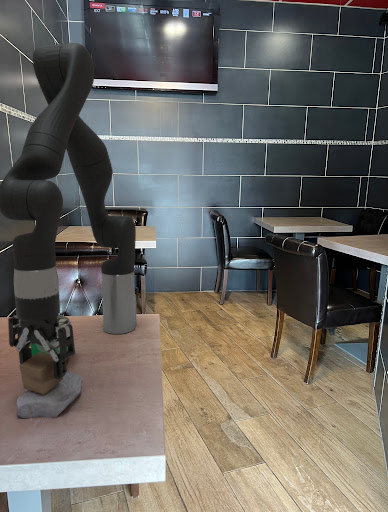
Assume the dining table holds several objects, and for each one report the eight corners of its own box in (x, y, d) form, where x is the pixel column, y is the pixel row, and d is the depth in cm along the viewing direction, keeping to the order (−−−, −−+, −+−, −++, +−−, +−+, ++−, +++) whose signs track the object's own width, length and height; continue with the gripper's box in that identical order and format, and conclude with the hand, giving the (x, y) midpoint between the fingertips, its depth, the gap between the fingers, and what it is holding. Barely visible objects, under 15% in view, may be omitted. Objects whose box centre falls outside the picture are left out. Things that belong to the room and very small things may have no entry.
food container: (55, 378, 79) (52, 335, 77) (30, 375, 80) (27, 333, 79) (83, 354, 91) (81, 316, 89) (61, 351, 92) (58, 314, 91)
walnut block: (43, 373, 73) (39, 351, 72) (63, 378, 72) (59, 356, 70) (23, 388, 69) (19, 365, 68) (44, 394, 67) (39, 370, 66)
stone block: (84, 392, 78) (37, 384, 77) (87, 372, 77) (40, 364, 76) (66, 430, 66) (11, 421, 66) (70, 408, 65) (14, 398, 65)
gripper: (81, 290, 67) (85, 371, 70) (25, 281, 73) (31, 357, 76) (50, 301, 61) (56, 390, 64) (-9, 291, 66) (-1, 373, 69)
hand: (43, 372), depth 70 cm, fingers open, 8 cm apart
